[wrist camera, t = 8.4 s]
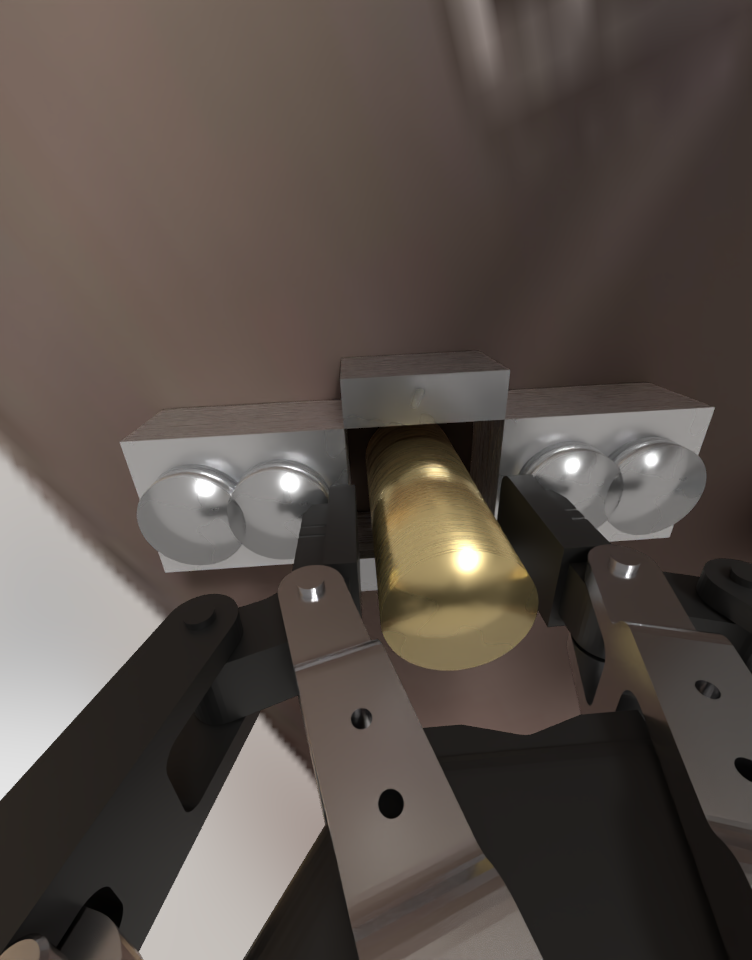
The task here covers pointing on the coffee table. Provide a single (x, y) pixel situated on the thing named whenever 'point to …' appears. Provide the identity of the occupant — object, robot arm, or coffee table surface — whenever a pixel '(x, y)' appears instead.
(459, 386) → the block with dome studs
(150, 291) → the coffee table surface
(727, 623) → the robot arm
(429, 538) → the link pin
